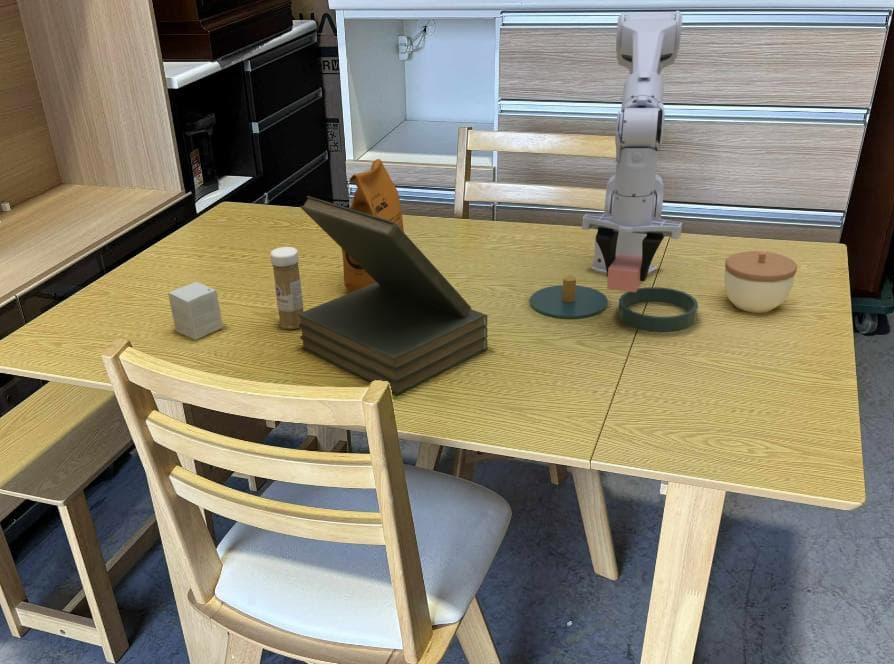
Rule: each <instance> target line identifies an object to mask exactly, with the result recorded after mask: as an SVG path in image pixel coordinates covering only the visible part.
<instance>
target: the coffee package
mask: <svg viewBox="0 0 894 664" xmlns="http://www.w3.org/2000/svg"><path fill="white" fill-rule="evenodd" d="M349 182H350V183H355V186H356V190H355V192H354V195H353V198H352V202H351V205H350V207H349V208H350V209H353V210H356V211H359V212H363V213H366V214H369V215H373V216H376V217H379V218H383V219H386V220H389V221H392V222H395V223H396V224H397V225H398V226H399V228H400V229H401V230H402V231H403V232H404V233H405V228H404V219H403V211H402V205H401V199H400V196H399V191H398V190H397V186H396V185H395V182H394V181H393V180H392V178H391V175H390V174H389V172H388V170H387V168H386V167H385V166H384V164H383V161H382V159H381V158H376V159H375V160H373V161H372V163H371V165H370V170H367V171H363V172H358V173H354V174H352V175H351V177H349ZM341 252H342V253H341V254H342V264H343V265H342V266H343V285H344V287H345V289H346V290H347V292H348V293H351V292H353V291H356V290H358V289H361V288H363V287H366V286H368V285H371V284H373V283H375V282H376V281H375V280H374V279H373V278H372V277H371V276H370V275H369V274H368V273H367V272H366V271H365V270H364V269H363V268H362V267H361V266H360V265H359V264H357V263H356V262H355V261H354V260H353V259H352V258H351V257H350V256H349V255H348V254H347V253H346V252H345V251H344V250H343V249H342V248H341Z"/></svg>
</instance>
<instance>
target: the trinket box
mask: <svg viewBox="0 0 894 664" xmlns="http://www.w3.org/2000/svg"><path fill="white" fill-rule="evenodd" d="M797 269H798V265H797V263H796V261H794V260H793V259H792V258H790V257H788V256H786V255H782V254H779V253H775V252H771V251H760V250H759V251H757V250H754V251H753V250H751V251H749V250H748V251H741V252H737V253H734V254H731V255H729V256H728V257H727V258H726V259H725V265H724V277H723V282H724V283H723V284H724V291H725V295H726V296H727V298H728V300H729V301H730V302H731V303H732V304H733V305H734V306H735V308H737V309H739V310H741V311H744V312H747V313H757V314H761V313H767V312H768V313H769V312H770V311H773V310H774V309H775V308H778V307H779V306H780V305H782V304H783V303H784V301H786V299H788V298H787V297H789V294H790V293H791V291H792V287H793V284H794V281H795V276H796V273H797Z"/></svg>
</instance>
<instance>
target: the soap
mask: <svg viewBox="0 0 894 664" xmlns="http://www.w3.org/2000/svg"><path fill="white" fill-rule="evenodd" d="M641 265H642V256H635V255H626V254H619V255H618V256H617V257H616V259H615V260H614V261H613V263H612V264H611V265H610V267H609V268H608V277H607V278H606V279H607V280H606V281H607V282H606V289H607V290H613V291H614V290H615V291H621V292H622V291H623V292H628V291H629V292H636V291H637V290H638V288H641V285H642V283H643V282H644V281H640V271H641Z"/></svg>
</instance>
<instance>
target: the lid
mask: <svg viewBox="0 0 894 664" xmlns="http://www.w3.org/2000/svg"><path fill="white" fill-rule="evenodd" d="M529 304H530V306H531V308H532V309H533V310H534V311H536V312H537V313H539V314H541V315H543V316H547V317H550V318H555V319H563V320H564V319H566V320H575V319H585V318H589V317H594V316H596V315H599V314H601V313H602V312H604V311H605V310H606V309H607V307H608V298H607V296H606V295H605V293H603V292H602V291H599V290H597V289H594V288H592V287H588V286H583V285H578V284H577V277H576V276H574V275H564V276H563V278H562V284H561V285H559V284H558V285H552V286H547V287H543V288H540V289H538V290H536V291H535V292H534V293H532V295H531V296H530V299H529Z"/></svg>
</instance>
